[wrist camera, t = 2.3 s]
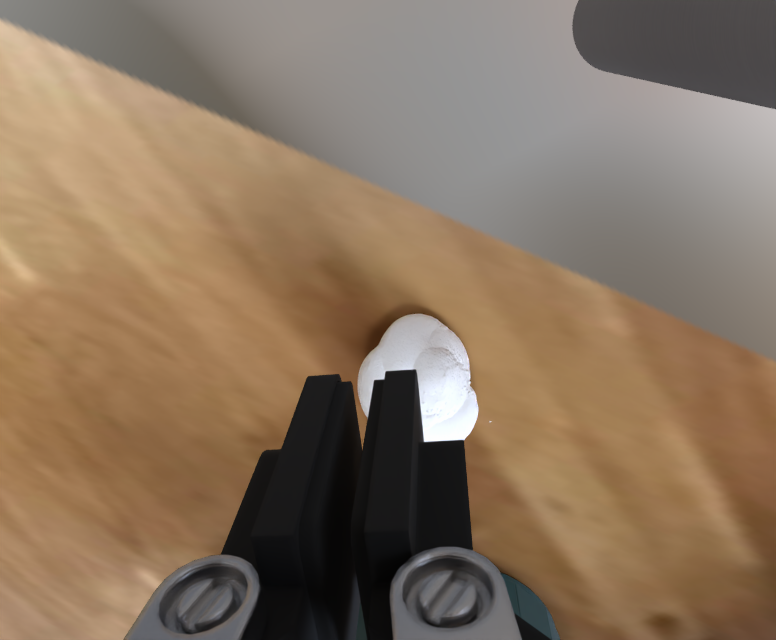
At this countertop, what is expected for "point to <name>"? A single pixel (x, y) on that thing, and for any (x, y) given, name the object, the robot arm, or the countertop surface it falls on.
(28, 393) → the countertop surface
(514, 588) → the pot
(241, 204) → the countertop surface
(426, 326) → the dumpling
